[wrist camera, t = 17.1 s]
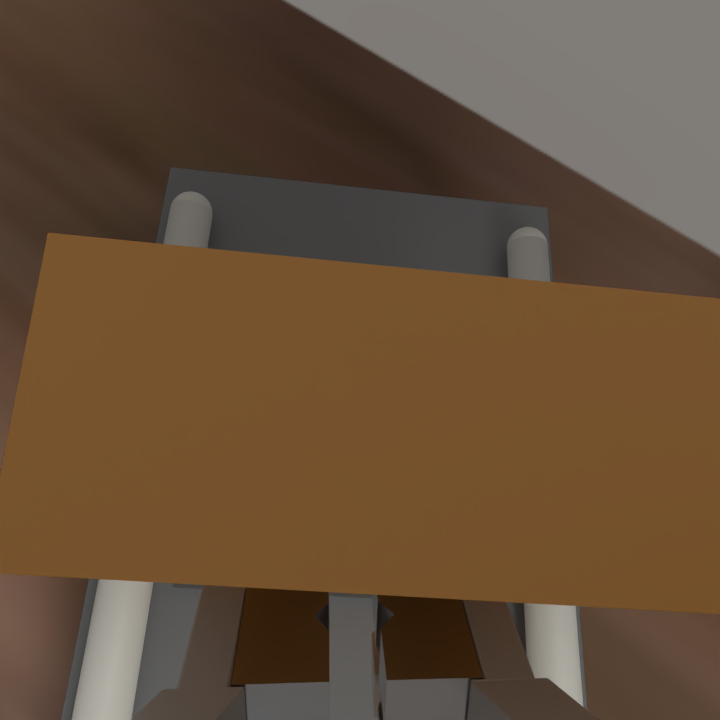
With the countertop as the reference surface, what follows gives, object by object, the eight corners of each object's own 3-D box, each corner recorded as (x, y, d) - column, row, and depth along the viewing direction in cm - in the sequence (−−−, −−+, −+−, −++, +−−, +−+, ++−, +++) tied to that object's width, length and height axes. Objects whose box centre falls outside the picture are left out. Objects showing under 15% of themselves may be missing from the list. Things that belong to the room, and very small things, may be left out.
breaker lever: (474, 467, 16) (944, 319, 5) (473, 552, 16) (994, 629, 4) (228, 449, 16) (47, 233, 4) (218, 536, 15) (-20, 572, 4)
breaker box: (493, 295, 27) (561, 184, 20) (515, 907, 19) (640, 1052, 12) (194, 267, 26) (164, 140, 19) (87, 900, 18) (-25, 1053, 11)
